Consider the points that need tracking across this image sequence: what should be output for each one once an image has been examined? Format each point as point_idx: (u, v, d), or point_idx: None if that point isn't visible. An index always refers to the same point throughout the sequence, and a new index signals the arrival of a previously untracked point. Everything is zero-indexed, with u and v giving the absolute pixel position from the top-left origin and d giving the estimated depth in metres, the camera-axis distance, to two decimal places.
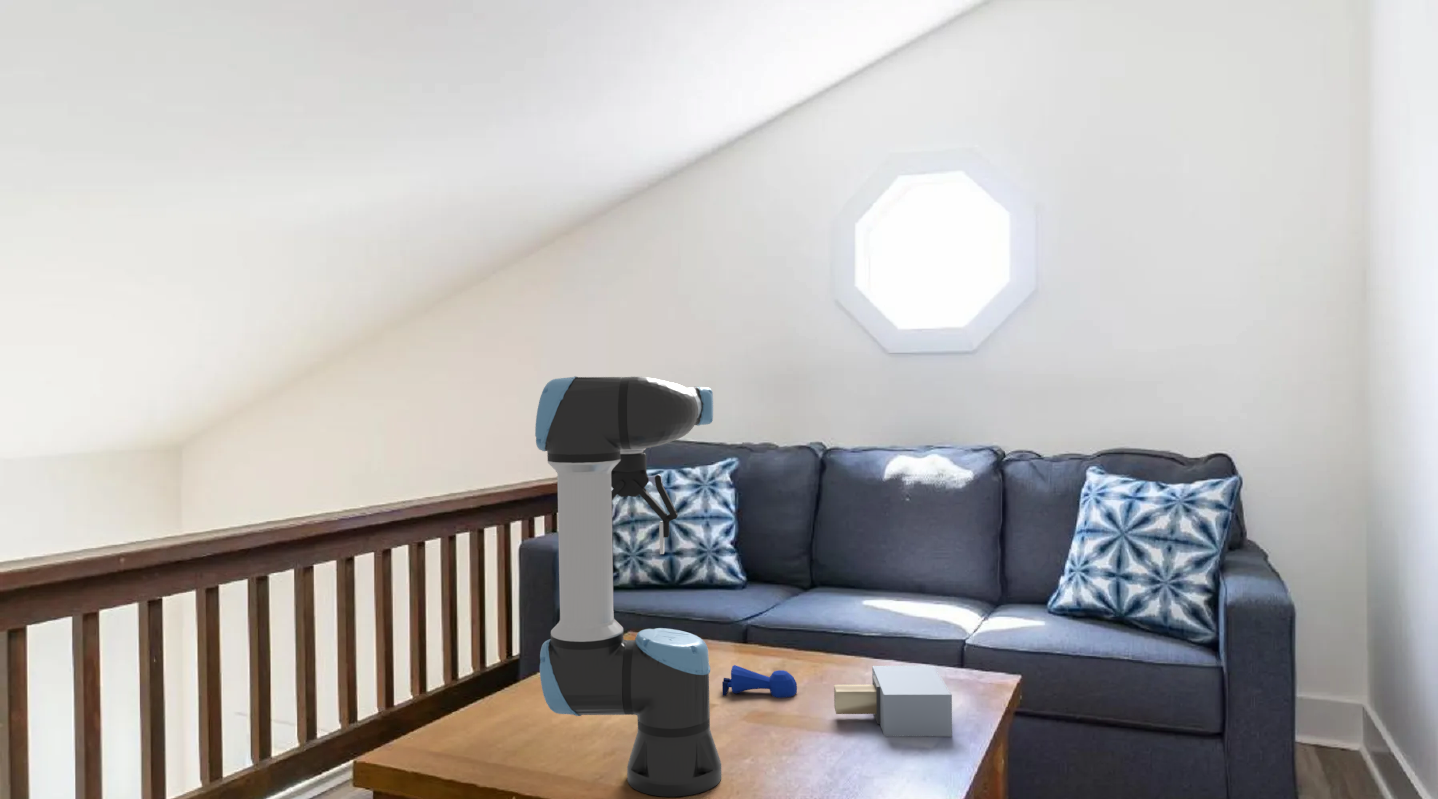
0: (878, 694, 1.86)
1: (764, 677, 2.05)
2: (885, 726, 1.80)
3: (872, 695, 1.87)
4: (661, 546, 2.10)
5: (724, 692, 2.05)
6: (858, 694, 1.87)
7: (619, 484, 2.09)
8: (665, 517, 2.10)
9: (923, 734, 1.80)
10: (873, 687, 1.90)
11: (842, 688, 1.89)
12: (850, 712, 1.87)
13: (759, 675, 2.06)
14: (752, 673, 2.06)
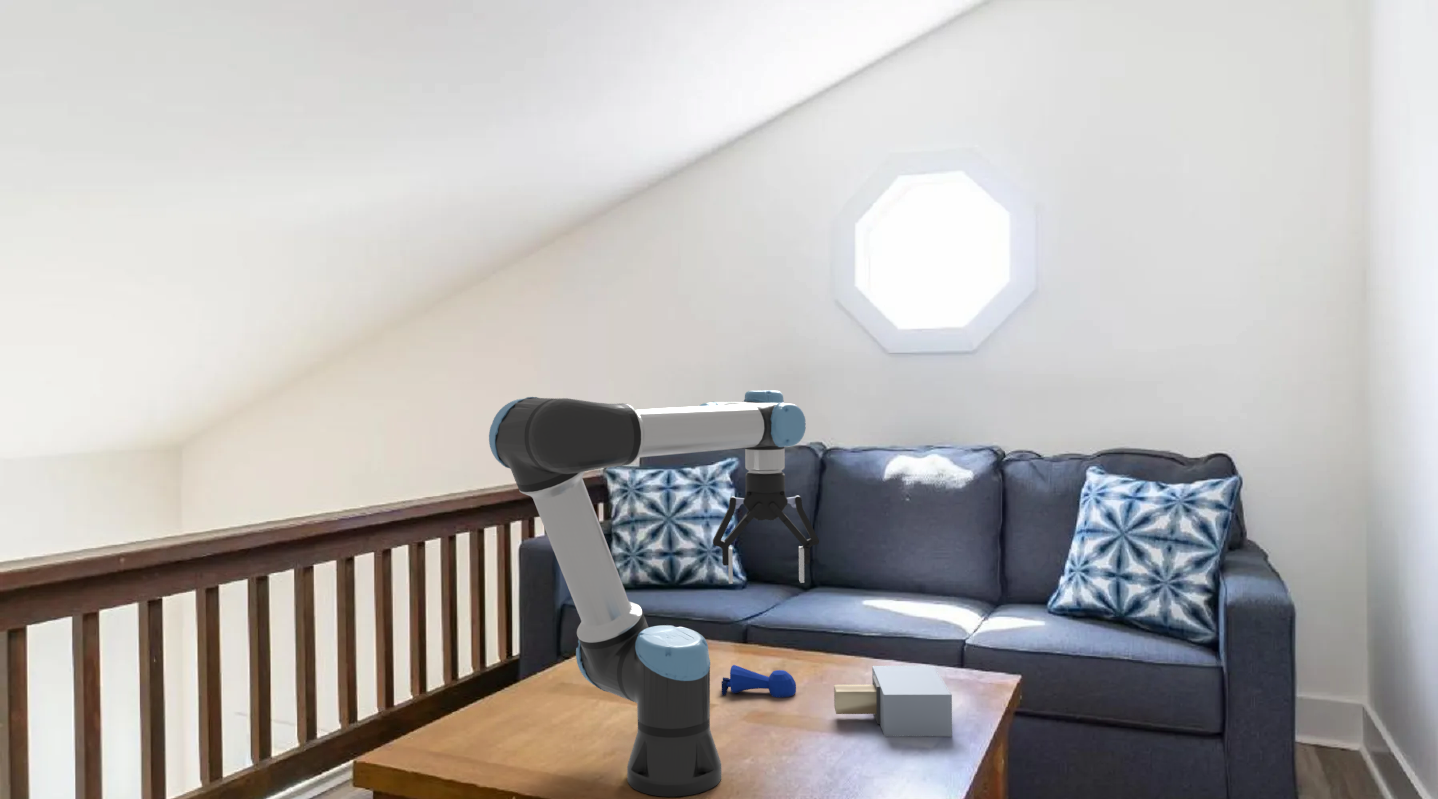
0: (878, 694, 1.86)
1: (763, 677, 2.05)
2: (885, 726, 1.80)
3: (872, 695, 1.87)
4: (802, 574, 1.92)
5: (723, 692, 2.05)
6: (858, 694, 1.87)
7: (757, 506, 1.91)
8: (806, 542, 1.92)
9: (923, 734, 1.80)
10: (873, 687, 1.90)
11: (842, 688, 1.89)
12: (850, 712, 1.87)
13: (758, 674, 2.06)
14: (751, 673, 2.06)
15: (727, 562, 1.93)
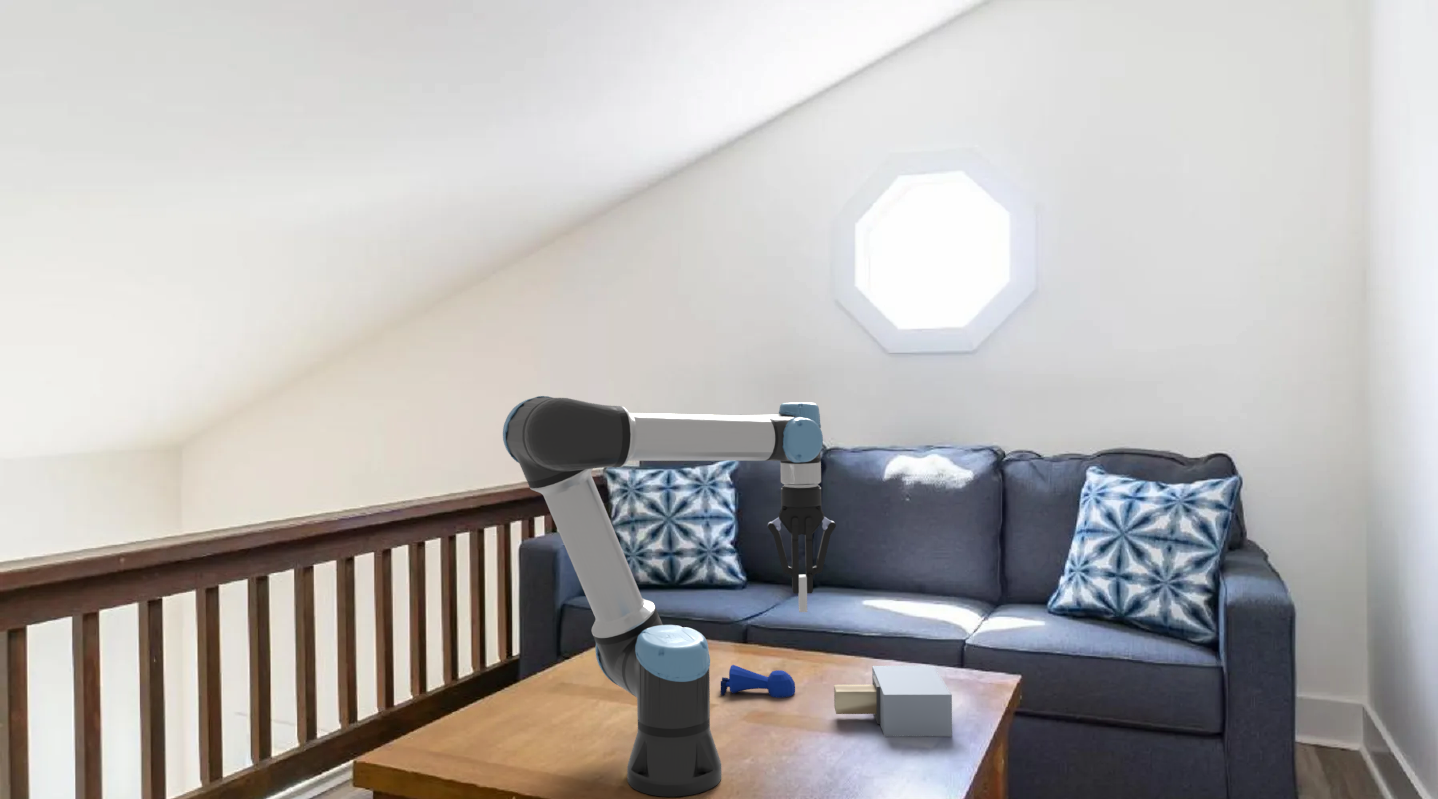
0: (878, 694, 1.86)
1: (762, 677, 2.05)
2: (885, 726, 1.80)
3: (872, 695, 1.87)
4: (805, 603, 1.88)
5: (722, 692, 2.05)
6: (858, 694, 1.87)
7: (794, 522, 1.87)
8: (811, 571, 1.88)
9: (923, 734, 1.80)
10: (873, 687, 1.90)
11: (842, 688, 1.89)
12: (850, 712, 1.87)
13: (757, 674, 2.06)
14: (750, 673, 2.06)
15: (797, 590, 1.89)
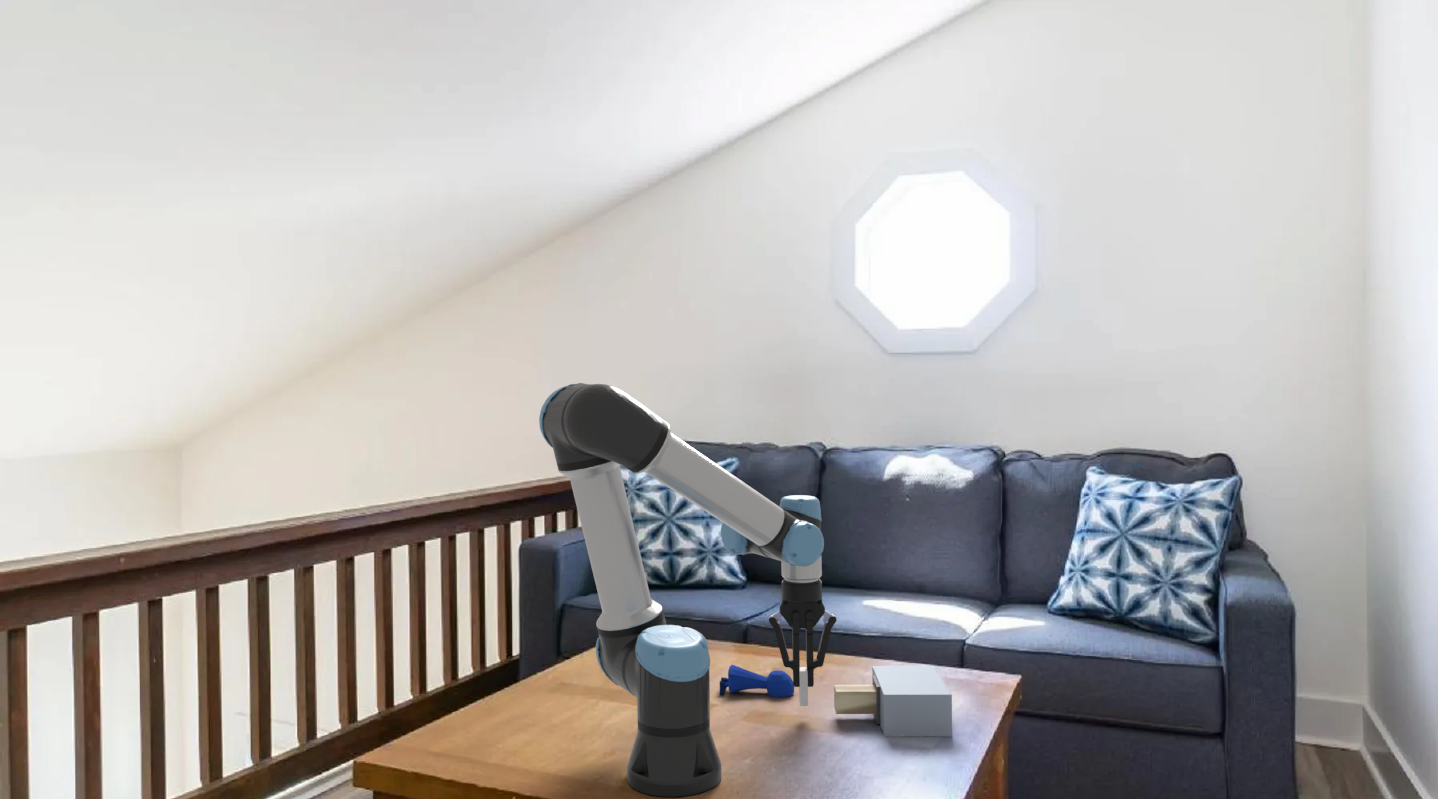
0: (878, 694, 1.86)
1: (761, 677, 2.05)
2: (885, 726, 1.80)
3: (872, 695, 1.87)
4: (805, 697, 1.89)
5: (721, 692, 2.05)
6: (858, 694, 1.87)
7: (794, 617, 1.88)
8: (811, 665, 1.88)
9: (923, 734, 1.80)
10: (873, 687, 1.90)
11: (842, 688, 1.89)
12: (850, 712, 1.87)
13: (756, 674, 2.06)
14: (749, 673, 2.06)
15: (798, 684, 1.89)
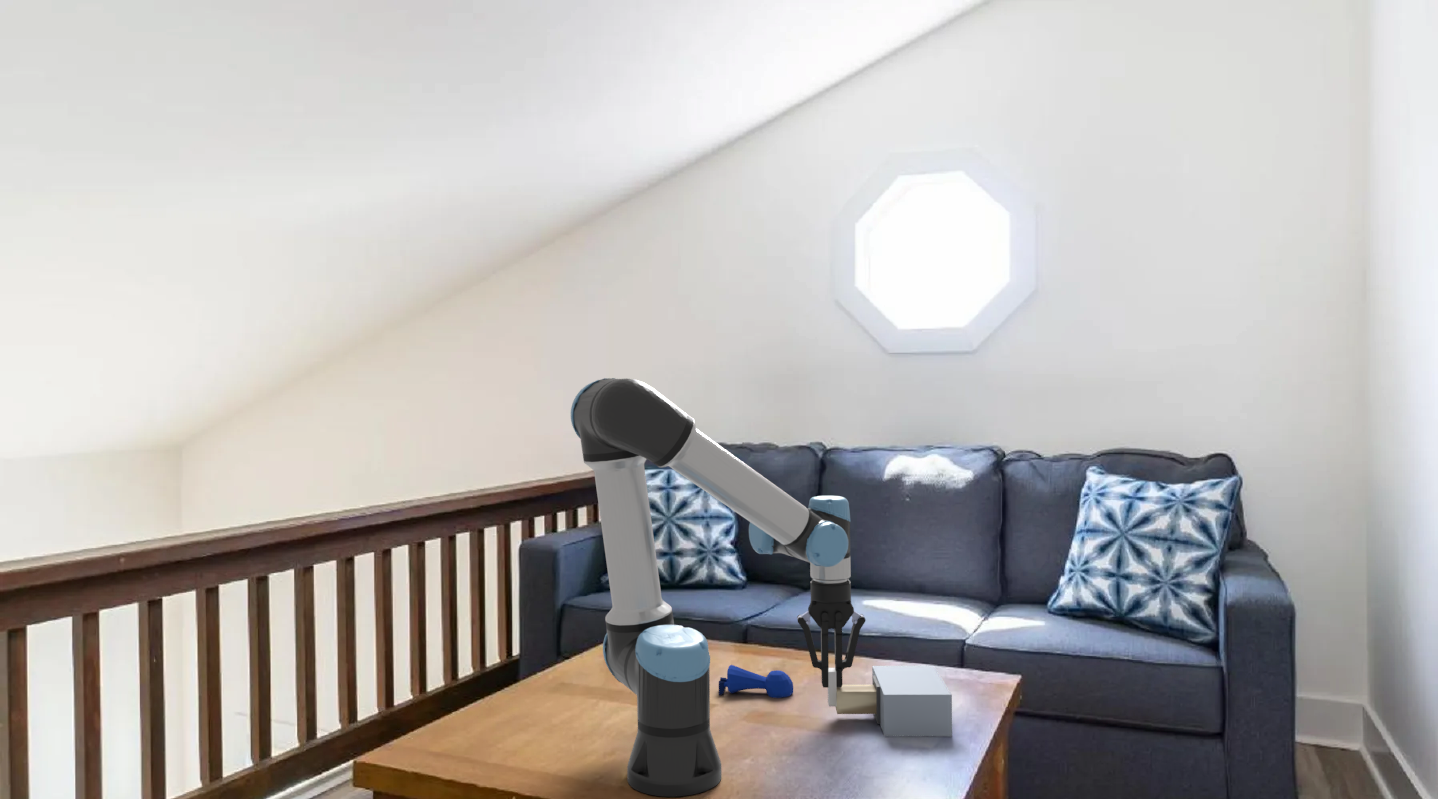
0: (878, 694, 1.86)
1: (760, 677, 2.05)
2: (885, 726, 1.80)
3: (873, 695, 1.87)
4: (834, 697, 1.88)
5: (720, 692, 2.05)
6: (859, 694, 1.87)
7: (823, 617, 1.87)
8: (840, 666, 1.88)
9: (923, 734, 1.80)
10: (874, 687, 1.90)
11: (843, 688, 1.89)
12: (851, 712, 1.87)
13: (755, 675, 2.06)
14: (748, 673, 2.06)
15: (827, 684, 1.89)
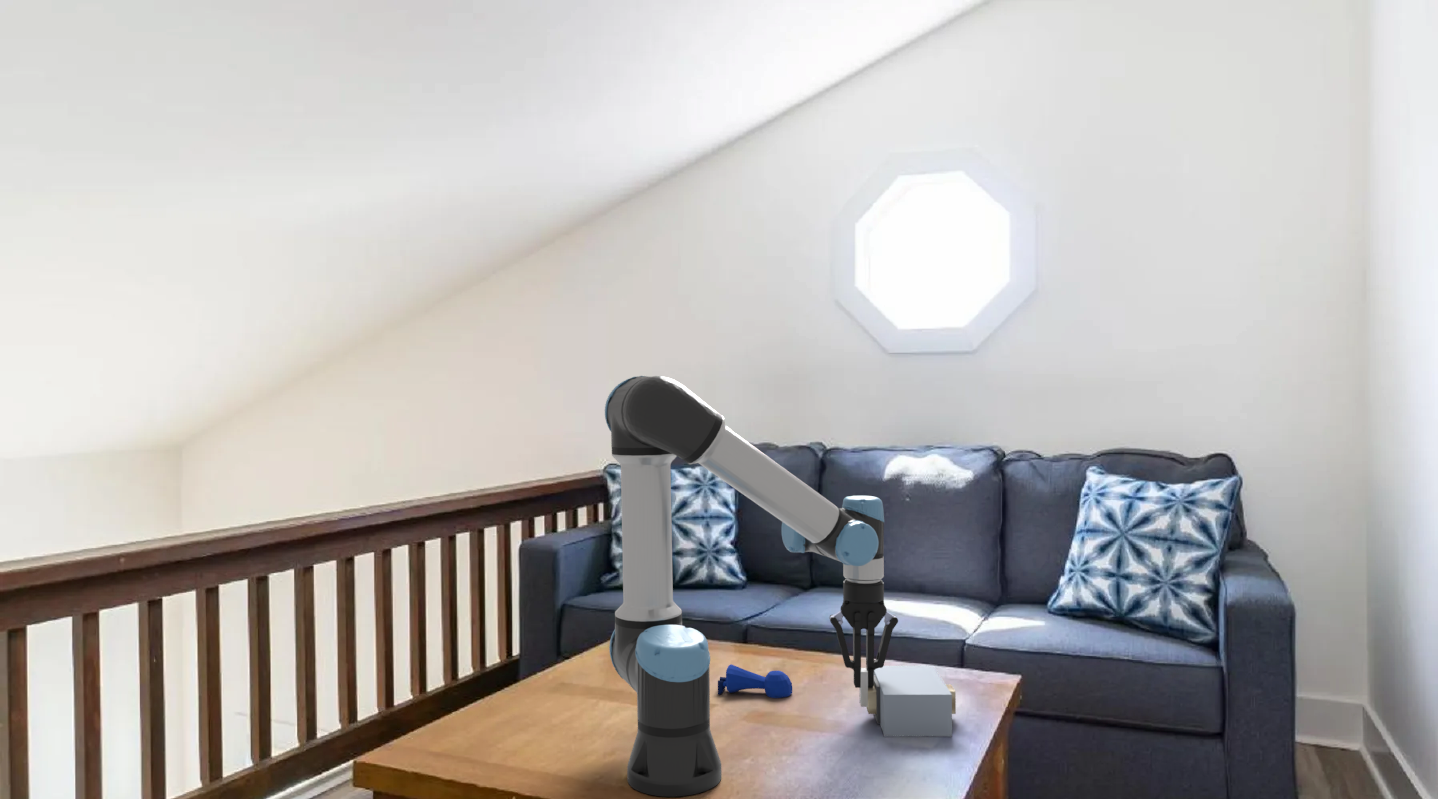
0: (878, 694, 1.86)
1: (759, 677, 2.05)
2: (885, 726, 1.80)
3: None
4: (865, 698, 1.88)
5: (719, 691, 2.05)
6: None
7: (856, 617, 1.87)
8: (872, 666, 1.88)
9: (923, 734, 1.80)
10: None
11: (874, 688, 1.89)
12: None
13: (755, 674, 2.06)
14: (747, 673, 2.06)
15: (859, 685, 1.89)
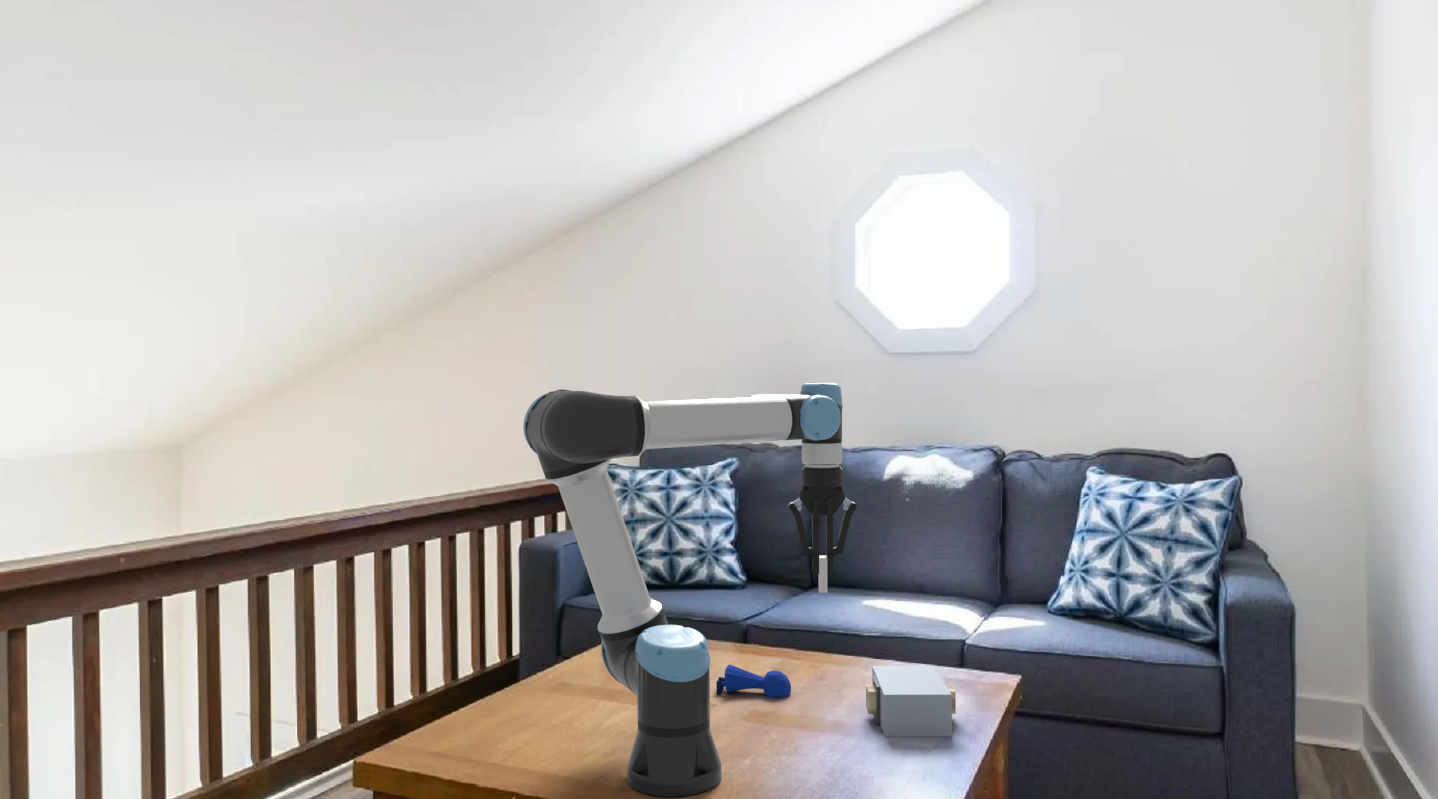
0: (878, 694, 1.86)
1: (758, 677, 2.05)
2: (885, 726, 1.80)
3: None
4: (825, 584, 1.88)
5: (718, 691, 2.05)
6: None
7: (815, 503, 1.87)
8: (831, 552, 1.88)
9: (923, 734, 1.80)
10: None
11: (874, 688, 1.89)
12: None
13: (753, 674, 2.06)
14: (746, 673, 2.06)
15: (818, 571, 1.88)
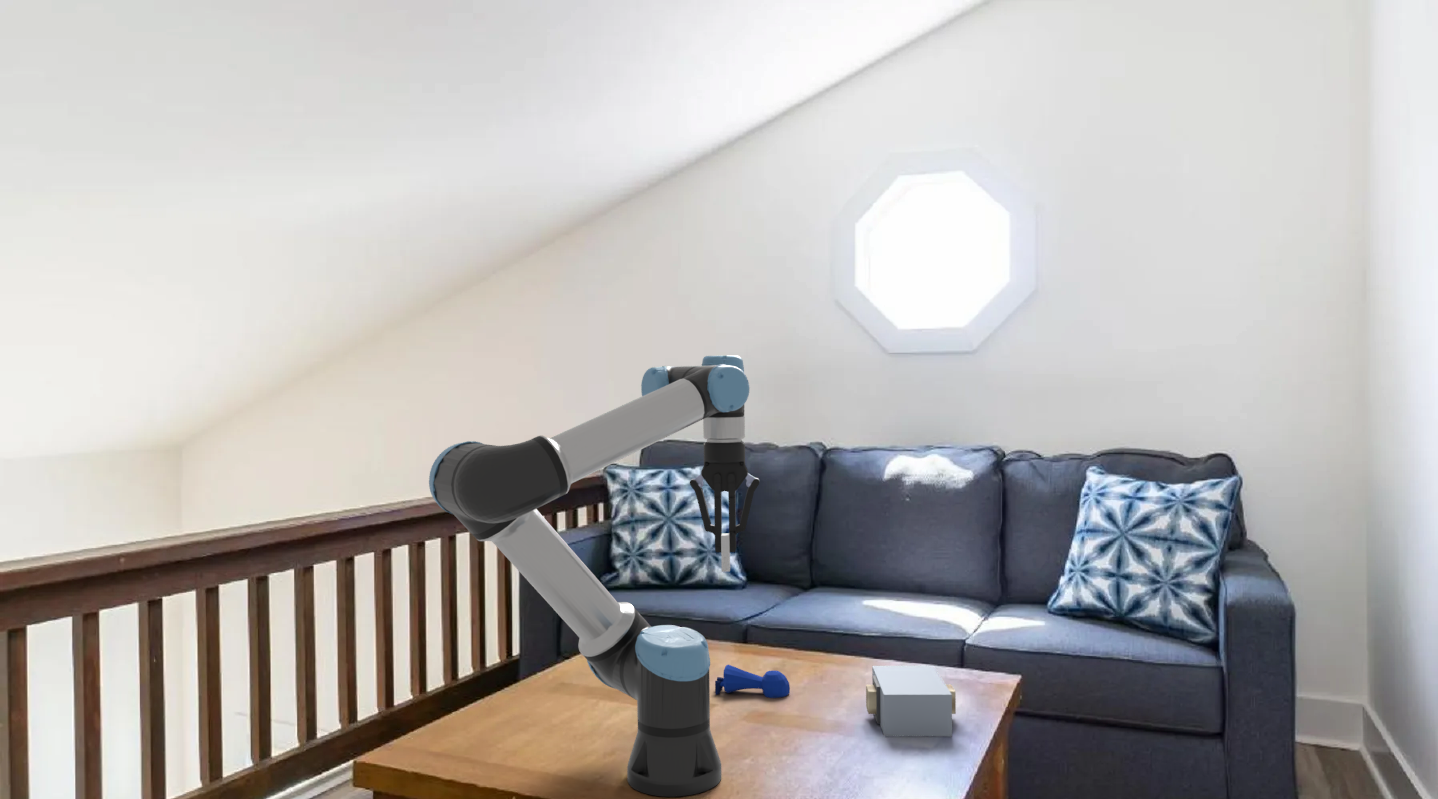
0: (878, 694, 1.86)
1: (757, 677, 2.06)
2: (885, 726, 1.80)
3: None
4: (727, 562, 1.82)
5: (717, 691, 2.05)
6: None
7: (716, 479, 1.82)
8: (733, 529, 1.82)
9: (923, 734, 1.80)
10: None
11: (874, 688, 1.89)
12: None
13: (752, 674, 2.06)
14: (745, 673, 2.06)
15: (720, 549, 1.83)
